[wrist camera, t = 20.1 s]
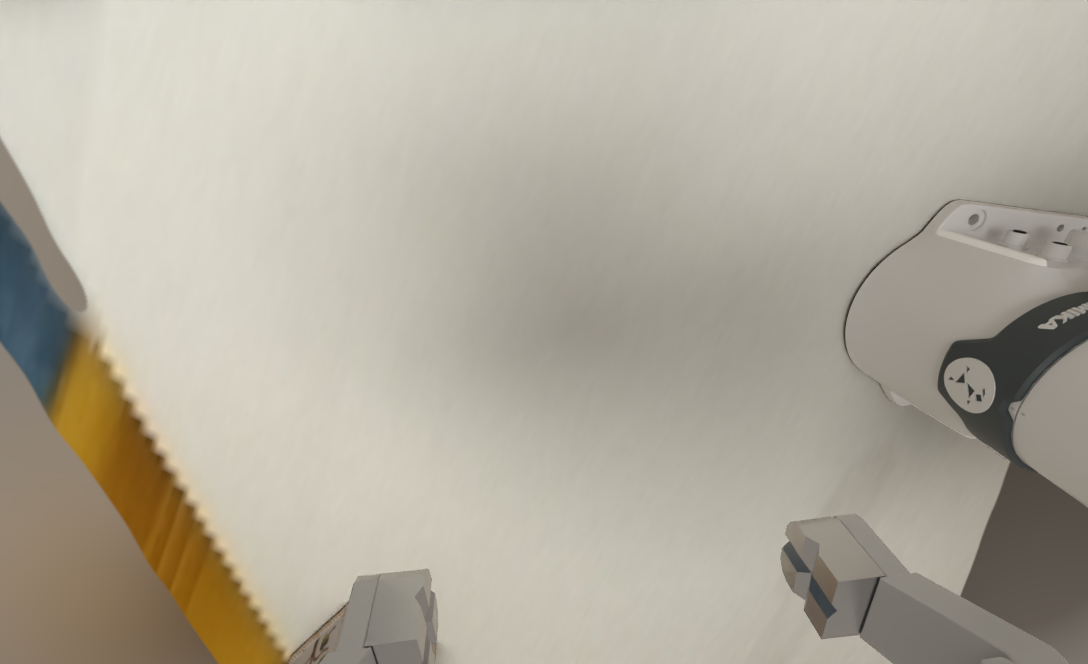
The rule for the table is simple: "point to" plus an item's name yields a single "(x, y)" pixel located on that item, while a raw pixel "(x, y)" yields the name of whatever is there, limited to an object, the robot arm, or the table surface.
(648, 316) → the table surface
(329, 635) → the decorative jar
